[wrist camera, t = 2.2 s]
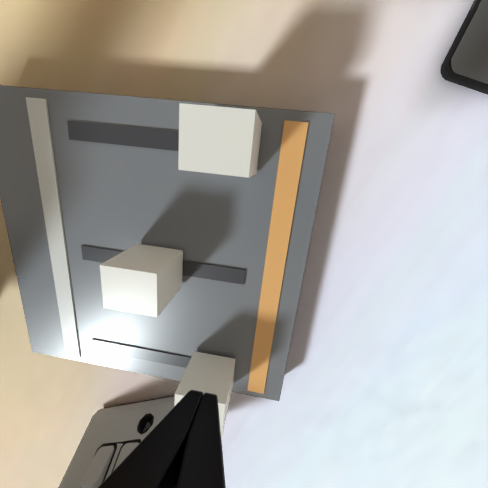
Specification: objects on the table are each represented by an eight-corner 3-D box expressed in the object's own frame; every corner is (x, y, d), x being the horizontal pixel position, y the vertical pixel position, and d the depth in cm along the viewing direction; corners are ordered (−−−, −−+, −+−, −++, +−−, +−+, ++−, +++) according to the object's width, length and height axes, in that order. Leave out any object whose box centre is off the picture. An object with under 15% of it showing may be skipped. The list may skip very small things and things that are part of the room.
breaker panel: (53, 335, 22) (31, 352, 20) (11, 92, 16) (-26, 82, 14) (279, 378, 20) (279, 402, 18) (327, 120, 14) (335, 113, 12)
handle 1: (202, 168, 14) (178, 169, 11) (204, 118, 13) (179, 103, 10) (256, 174, 14) (248, 177, 10) (262, 123, 13) (255, 109, 10)
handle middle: (138, 279, 17) (103, 308, 13) (137, 243, 16) (99, 264, 13) (182, 286, 16) (157, 317, 13) (183, 250, 16) (156, 273, 12)
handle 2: (192, 378, 19) (174, 424, 15) (194, 351, 18) (174, 393, 15) (232, 386, 18) (222, 435, 15) (235, 358, 18) (225, 404, 14)
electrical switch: (181, 391, 22) (125, 548, 14) (204, 428, 24) (167, 587, 16) (97, 406, 25) (4, 549, 16) (124, 439, 26) (53, 583, 18)
